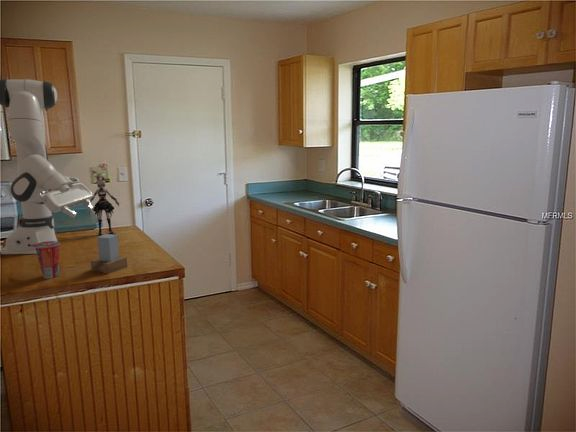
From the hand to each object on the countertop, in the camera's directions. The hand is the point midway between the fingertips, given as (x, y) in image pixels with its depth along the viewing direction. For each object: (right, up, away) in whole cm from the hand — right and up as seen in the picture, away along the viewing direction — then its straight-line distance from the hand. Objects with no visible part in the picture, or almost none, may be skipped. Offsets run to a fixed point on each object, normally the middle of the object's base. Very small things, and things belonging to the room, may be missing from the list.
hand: (83, 212), depth 180 cm
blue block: (+10, -17, -1) cm, 20 cm away
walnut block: (+10, -21, 0) cm, 24 cm away
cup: (-9, -23, -8) cm, 26 cm away
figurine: (-12, -10, +53) cm, 55 cm away
